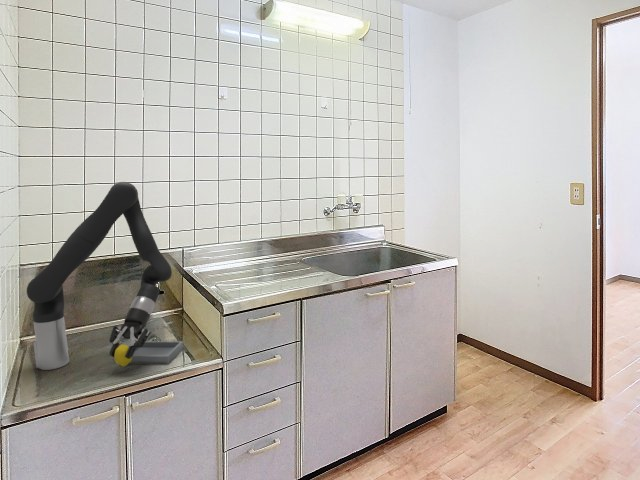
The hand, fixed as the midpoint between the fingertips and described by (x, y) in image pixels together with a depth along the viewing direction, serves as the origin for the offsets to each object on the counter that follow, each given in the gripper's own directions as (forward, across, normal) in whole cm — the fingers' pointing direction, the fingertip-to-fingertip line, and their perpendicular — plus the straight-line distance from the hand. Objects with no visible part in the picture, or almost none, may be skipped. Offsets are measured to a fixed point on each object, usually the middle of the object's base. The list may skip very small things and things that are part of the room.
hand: (119, 356), depth 142 cm
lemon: (+2, 0, +4) cm, 5 cm away
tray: (-7, +1, +16) cm, 17 cm away
